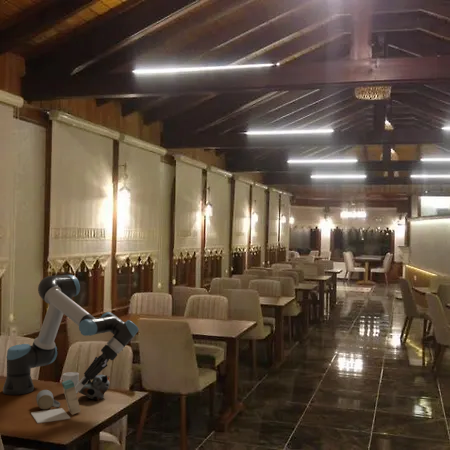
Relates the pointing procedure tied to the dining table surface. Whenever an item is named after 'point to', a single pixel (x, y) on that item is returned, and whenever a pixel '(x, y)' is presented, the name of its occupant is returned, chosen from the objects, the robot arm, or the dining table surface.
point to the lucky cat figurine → (96, 387)
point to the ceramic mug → (46, 400)
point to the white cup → (71, 378)
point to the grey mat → (50, 415)
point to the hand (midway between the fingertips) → (76, 389)
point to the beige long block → (71, 397)
